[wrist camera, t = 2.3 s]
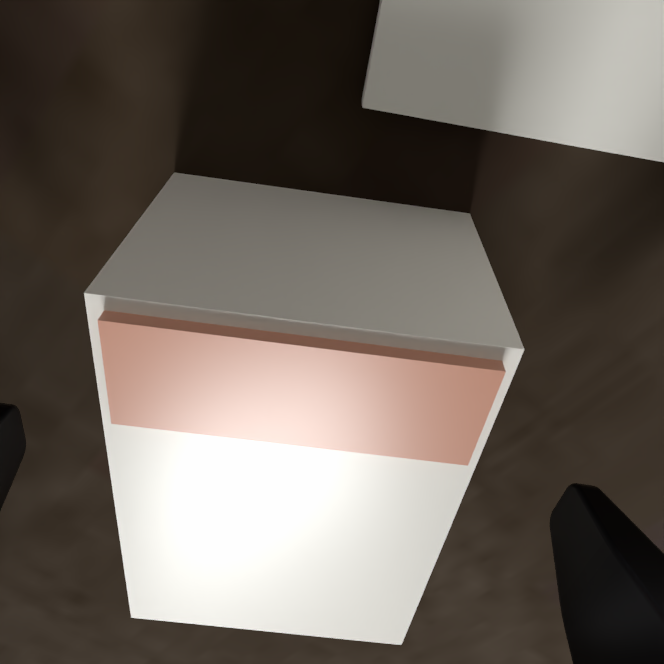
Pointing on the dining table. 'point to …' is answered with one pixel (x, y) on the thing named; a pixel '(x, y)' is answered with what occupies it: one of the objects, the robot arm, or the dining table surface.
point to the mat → (526, 69)
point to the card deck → (293, 402)
